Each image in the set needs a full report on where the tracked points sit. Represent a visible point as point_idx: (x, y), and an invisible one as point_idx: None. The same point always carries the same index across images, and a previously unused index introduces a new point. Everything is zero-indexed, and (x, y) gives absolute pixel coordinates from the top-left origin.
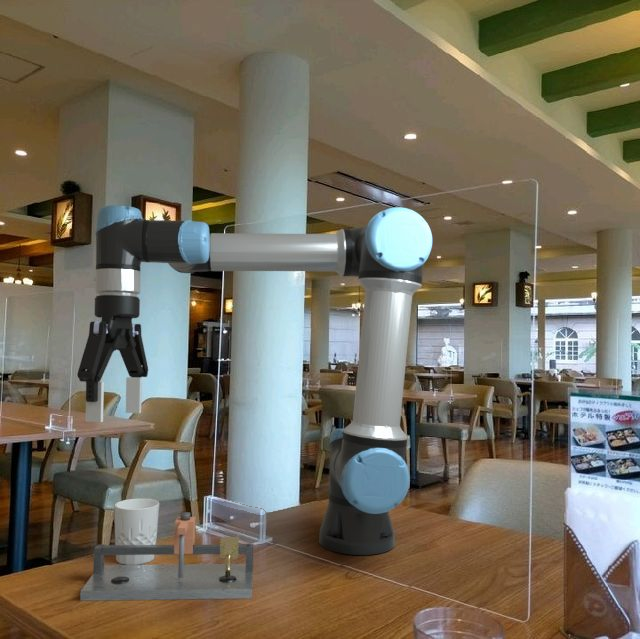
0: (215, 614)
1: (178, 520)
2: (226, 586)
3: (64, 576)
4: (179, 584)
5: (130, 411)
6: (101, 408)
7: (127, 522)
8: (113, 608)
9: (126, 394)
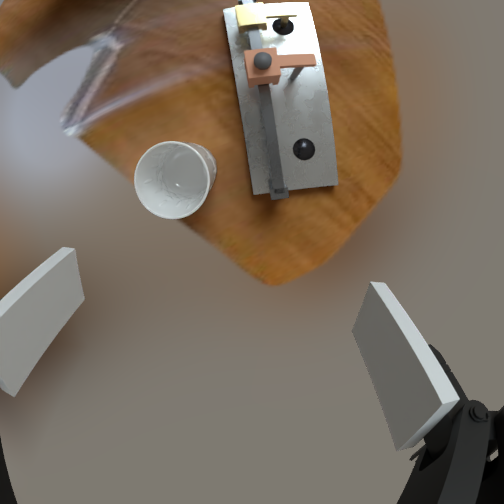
0: (351, 37)
1: (271, 71)
2: (306, 25)
3: (265, 230)
4: (308, 75)
5: (78, 285)
6: (403, 312)
7: (212, 178)
8: (351, 140)
9: (49, 341)
